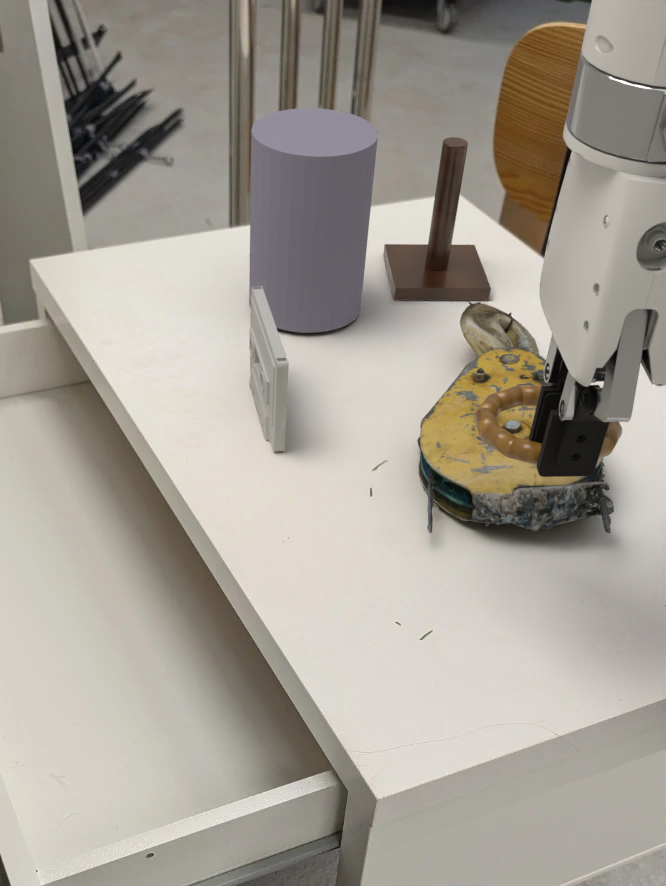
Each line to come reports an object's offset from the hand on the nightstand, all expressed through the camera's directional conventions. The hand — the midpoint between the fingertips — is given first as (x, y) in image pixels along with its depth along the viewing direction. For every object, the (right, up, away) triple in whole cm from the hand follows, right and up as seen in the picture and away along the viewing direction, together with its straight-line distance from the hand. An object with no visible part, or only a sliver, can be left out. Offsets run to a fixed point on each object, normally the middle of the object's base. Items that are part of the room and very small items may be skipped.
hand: (559, 459), depth 59 cm
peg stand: (0, +28, +40) cm, 49 cm away
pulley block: (+2, +8, +23) cm, 24 cm away
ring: (0, +3, +2) cm, 3 cm away
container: (-13, +23, +36) cm, 45 cm away
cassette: (-17, +10, +25) cm, 32 cm away
